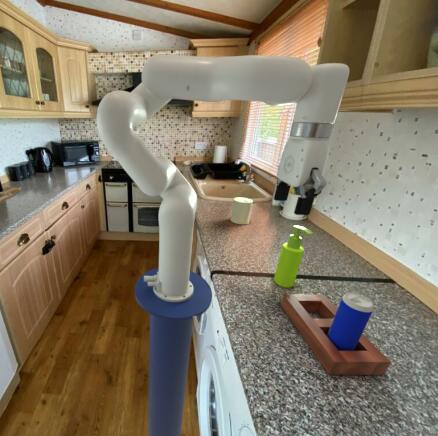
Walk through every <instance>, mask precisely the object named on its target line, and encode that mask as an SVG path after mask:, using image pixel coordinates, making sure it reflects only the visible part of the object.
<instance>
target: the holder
mask: <svg viewBox="0 0 438 436" xmlns="http://www.w3.org/2000/svg"><path fill="white" fill-rule="evenodd" d="M280 307H281V308H282V310H283V311H284V313H285V314H286V315H287V317H288V318H289V320H290V321H291V322H292V324H293V326H294V327H295V328H296V330H297V332H298V333H299V334H300V336H301V337H302V338H303V340H304V341H305V342H306V344H307V345H308V347H309V348H310V350H311V352H313V354H314V355H315V357H316V358H317V359H318V361H319V362H320V364H321V365H322V366H323V368H324V370H325V371H326V372H327V374H328V375H329V376H384V375H385V374H386V371H387V370H388V368H389V367H390V365H391V363H392V361H390V359H389V358H388V357H386V355H385V354H384V353H382V351H381V350H380V349H379V348H378V347H376V346H375V344H374V343H373V342H372V341H371V340H370V339H369V338H368V337H367V336H366V335H365V334H364V332H363V333H362V335H361V337H360V339H359V341H358V343H357V346H356V348H355V350H354V351H338V349H337V348H336V347H335V346H334V345H333V343H332V342H331V341H330V340H329V338H328V337H327V334H328V332H329V329H330V327H331V324H332V322H333V319H334V317H335V314H336V312H337V309H338V307H337V306H336V305H335V304H334V303H333V302H332V301H331V300H330V299H329V298H328V297H327V295H325V294H312V293H311V294H310V293H308V294H306V293H305V294H303V293H302V294H301V293H299V294H298V293H297V294H296V293H295V294H294V293H293V294H292V293H286V294H285V293H283V295H282V298H281V301H280ZM310 313H317V314H318V315H319V317H321V318H313V317H312V316H311V315H310Z"/></svg>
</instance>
